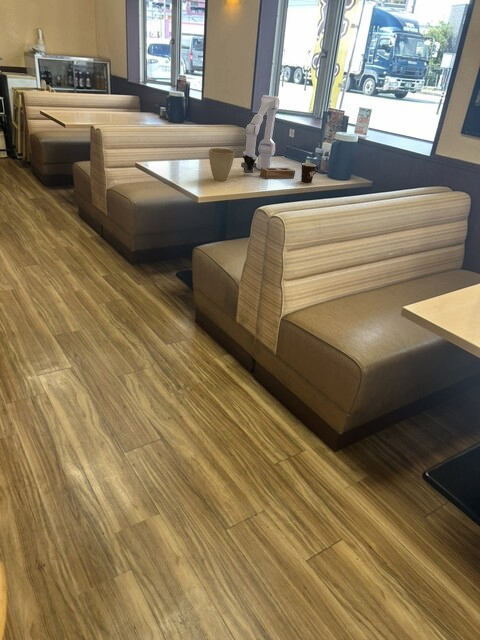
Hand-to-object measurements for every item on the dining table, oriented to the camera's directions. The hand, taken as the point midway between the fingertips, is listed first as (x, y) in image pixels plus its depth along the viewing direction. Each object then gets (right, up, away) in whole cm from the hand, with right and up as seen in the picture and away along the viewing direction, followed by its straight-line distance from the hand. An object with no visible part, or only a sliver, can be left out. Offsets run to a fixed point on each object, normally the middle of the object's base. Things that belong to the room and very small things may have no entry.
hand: (248, 169), depth 287 cm
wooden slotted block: (+18, -3, +5) cm, 19 cm away
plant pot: (-17, -11, -15) cm, 25 cm away
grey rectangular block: (0, -2, +1) cm, 2 cm away
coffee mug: (+37, -7, +2) cm, 38 cm away
